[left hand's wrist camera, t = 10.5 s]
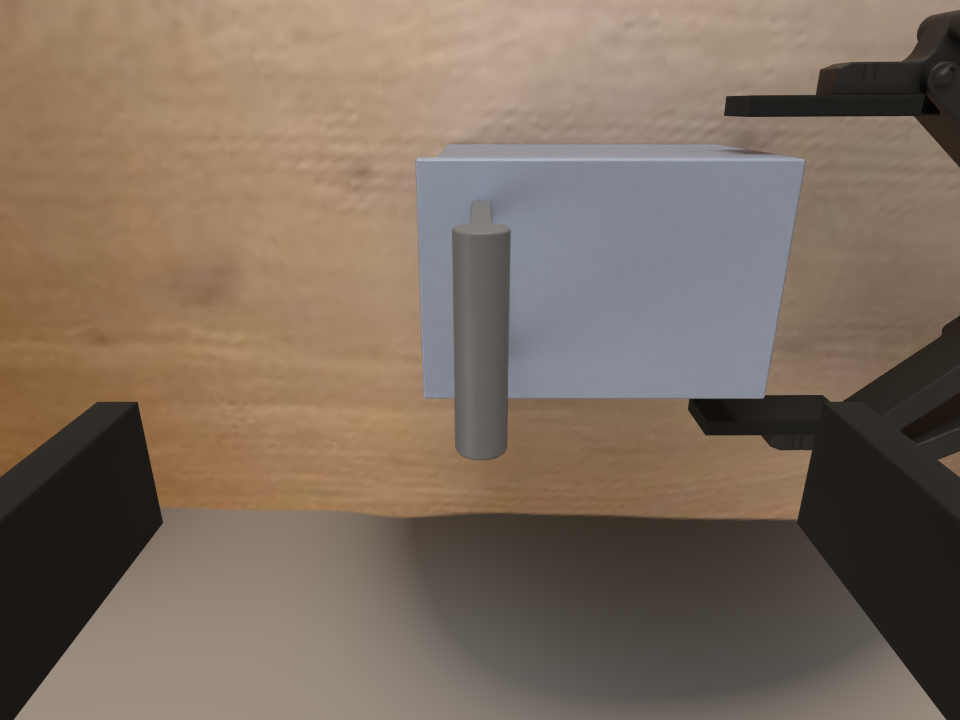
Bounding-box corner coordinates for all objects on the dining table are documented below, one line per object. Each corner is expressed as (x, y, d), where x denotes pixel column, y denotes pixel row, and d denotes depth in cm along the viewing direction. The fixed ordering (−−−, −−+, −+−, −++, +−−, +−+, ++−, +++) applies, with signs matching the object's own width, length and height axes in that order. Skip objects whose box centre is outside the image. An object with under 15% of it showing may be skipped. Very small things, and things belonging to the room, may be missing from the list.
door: (425, 389, 28) (404, 498, 20) (417, 156, 24) (388, 181, 17) (755, 389, 28) (860, 498, 20) (794, 157, 24) (939, 181, 17)
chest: (450, 325, 36) (441, 389, 28) (447, 143, 33) (436, 156, 24) (693, 325, 36) (755, 389, 28) (716, 144, 33) (793, 157, 24)
